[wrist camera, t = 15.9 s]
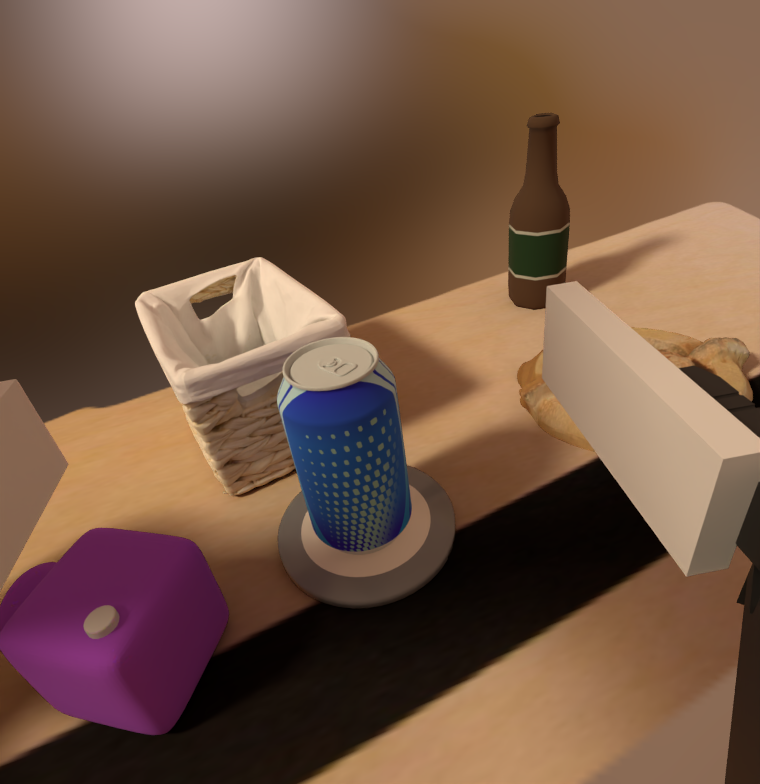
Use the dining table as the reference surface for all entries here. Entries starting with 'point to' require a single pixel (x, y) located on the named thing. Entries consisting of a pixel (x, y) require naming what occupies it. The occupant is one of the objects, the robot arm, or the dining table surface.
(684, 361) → the ashtray
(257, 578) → the dining table surface
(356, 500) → the beer can
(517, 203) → the beer bottle
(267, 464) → the storage basket
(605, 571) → the dining table surface
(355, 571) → the coaster plate
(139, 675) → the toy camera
